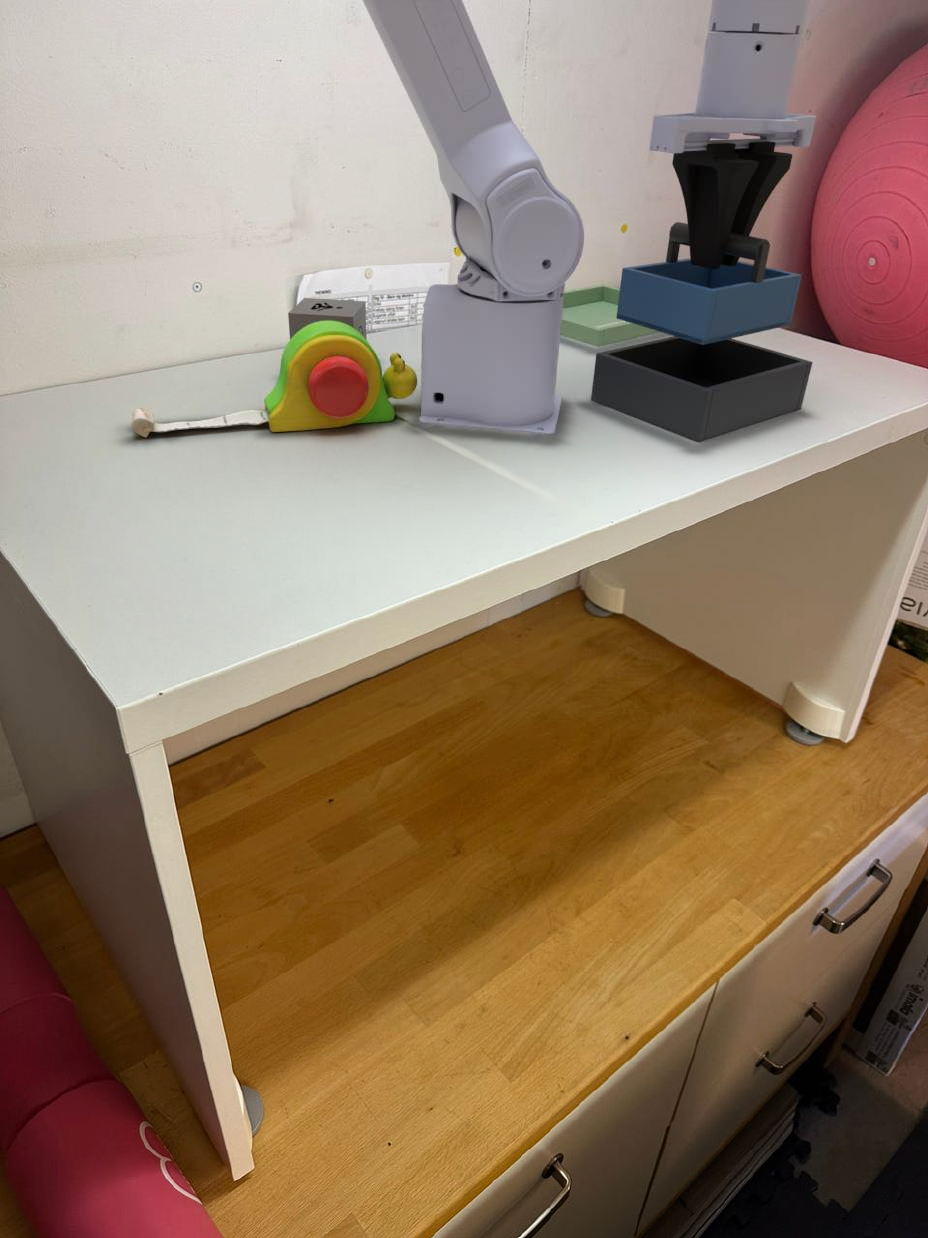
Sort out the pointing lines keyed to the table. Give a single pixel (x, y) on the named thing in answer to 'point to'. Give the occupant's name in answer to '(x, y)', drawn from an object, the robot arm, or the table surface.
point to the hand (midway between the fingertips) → (713, 264)
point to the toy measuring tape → (317, 386)
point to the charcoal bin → (699, 385)
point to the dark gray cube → (328, 314)
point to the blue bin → (709, 293)
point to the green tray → (596, 317)
